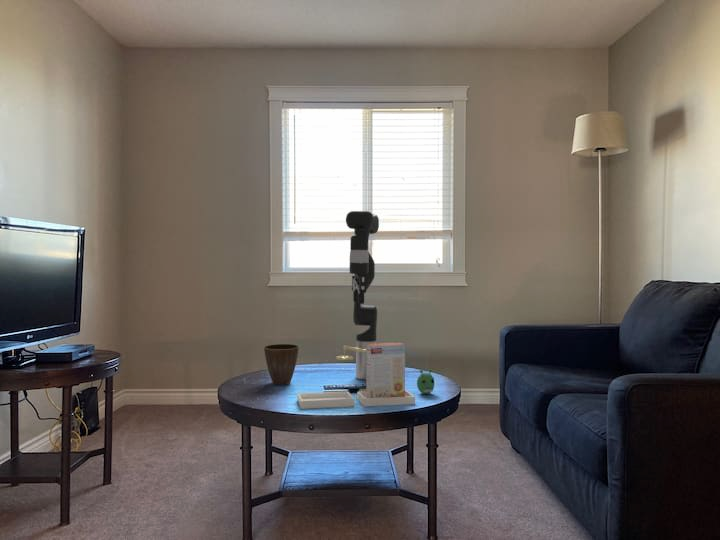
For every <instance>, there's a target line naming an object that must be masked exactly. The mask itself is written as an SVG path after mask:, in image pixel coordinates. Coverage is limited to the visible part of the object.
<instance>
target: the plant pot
mask: <svg viewBox="0 0 720 540" xmlns="http://www.w3.org/2000/svg"><path fill="white" fill-rule="evenodd" d="M299 348H300V347H299V345H297V344H290V343H286V344H285V343H280V344H278V343H277V344H269V345H266V346H265V345H264V347H263V350H264V351H263V352H264V356H265V357H264V358H265V362H266V366H267V370H268V373H269V376H270V378H271V382H272V384H273V385H275V386H285V385H289V384H291V382H292V379H293V376H294V372H295V370H296V366H297V361H298V354H299Z"/></svg>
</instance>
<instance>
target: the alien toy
mask: <svg viewBox="0 0 720 540" xmlns="http://www.w3.org/2000/svg"><path fill="white" fill-rule="evenodd" d="M428 370H429V372H424V370H423V369H420V370H419V371H418V372H419V373H421V374H419V376H418V377H417V380H416V386H417V389H418V391H419V393H421V394H423V395H428V394H431V393H432V392H433V391H434V388H435V378H434V376H433V375H432V374H431V373H432V372H433V371H434V370H433V369H431V368H429V369H428Z"/></svg>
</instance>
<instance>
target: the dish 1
mask: <svg viewBox="0 0 720 540" xmlns="http://www.w3.org/2000/svg"><path fill="white" fill-rule="evenodd" d="M297 403H298V405H299V408H300V409H302V410H303V409H319V408H320V409H322V408H323V409H326V408H344V407H347V408H348V407H355V398H354V396H353V395H352V394H351V393H350V391H345V390H343V391H324V392H323V391H321V392H301V393H297Z"/></svg>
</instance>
